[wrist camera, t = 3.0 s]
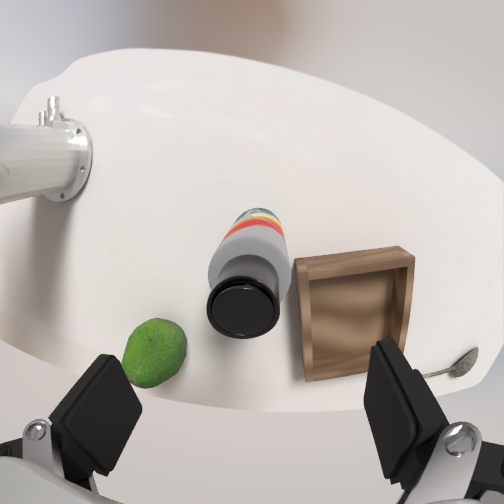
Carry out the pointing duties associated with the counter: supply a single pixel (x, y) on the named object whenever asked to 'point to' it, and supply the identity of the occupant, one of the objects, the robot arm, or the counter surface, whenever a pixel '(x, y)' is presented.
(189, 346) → the counter surface
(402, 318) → the walnut tray
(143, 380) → the avocado
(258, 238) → the lotion bottle
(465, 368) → the soupspoon
